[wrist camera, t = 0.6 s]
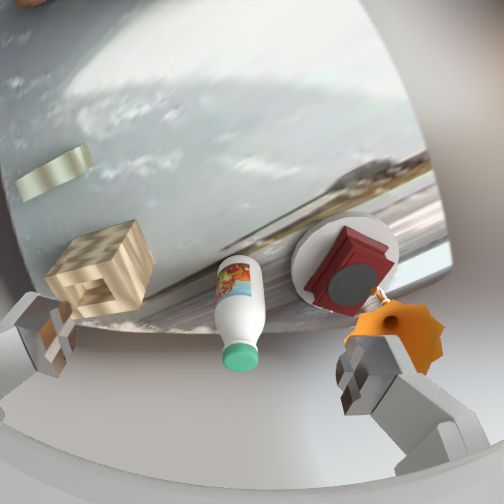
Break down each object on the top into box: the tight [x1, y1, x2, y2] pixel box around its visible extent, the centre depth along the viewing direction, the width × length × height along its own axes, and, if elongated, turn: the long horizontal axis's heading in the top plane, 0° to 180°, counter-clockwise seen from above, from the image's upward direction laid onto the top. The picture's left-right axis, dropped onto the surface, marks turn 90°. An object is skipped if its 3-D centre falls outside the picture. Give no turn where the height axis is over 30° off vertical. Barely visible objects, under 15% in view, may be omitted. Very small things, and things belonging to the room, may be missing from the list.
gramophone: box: [291, 212, 444, 376], centre depth 44 cm, size 20×20×25 cm
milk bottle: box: [215, 255, 265, 372], centre depth 46 cm, size 8×8×20 cm
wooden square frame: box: [44, 220, 156, 320], centre depth 46 cm, size 14×9×12 cm, turn 103°
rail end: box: [14, 143, 95, 203], centre depth 37 cm, size 12×4×9 cm, turn 103°
